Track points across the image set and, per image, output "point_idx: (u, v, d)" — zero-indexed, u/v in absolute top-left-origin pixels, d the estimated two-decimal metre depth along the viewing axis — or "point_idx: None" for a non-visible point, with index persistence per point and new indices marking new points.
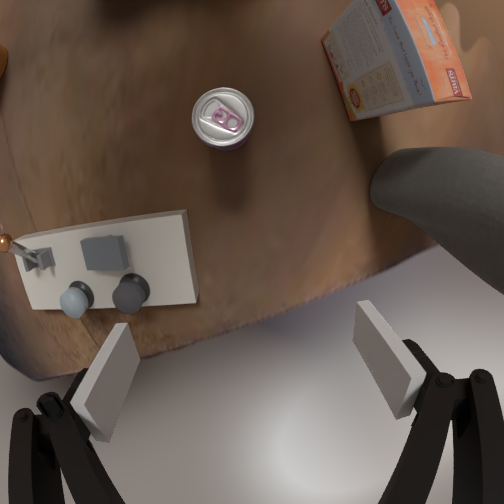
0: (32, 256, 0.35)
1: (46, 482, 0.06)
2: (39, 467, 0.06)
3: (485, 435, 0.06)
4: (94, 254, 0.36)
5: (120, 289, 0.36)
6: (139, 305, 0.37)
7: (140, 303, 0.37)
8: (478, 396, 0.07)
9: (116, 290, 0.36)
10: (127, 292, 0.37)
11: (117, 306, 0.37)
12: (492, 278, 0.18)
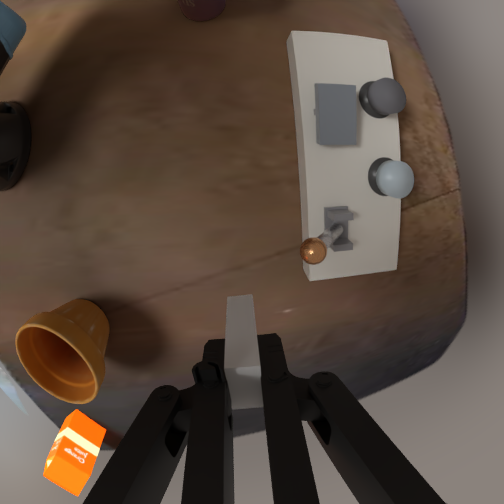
0: (334, 228, 0.32)
1: (156, 470, 0.07)
2: (158, 454, 0.08)
3: (356, 439, 0.07)
4: (337, 124, 0.29)
5: (378, 97, 0.27)
6: (395, 81, 0.26)
7: (392, 80, 0.26)
8: (328, 402, 0.09)
9: (379, 103, 0.27)
10: (381, 90, 0.26)
11: (398, 109, 0.27)
12: None
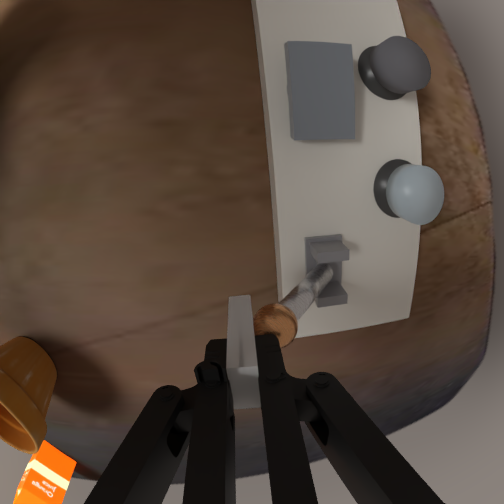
0: (318, 274, 0.20)
1: (158, 471, 0.07)
2: (159, 455, 0.08)
3: (354, 440, 0.07)
4: (322, 106, 0.17)
5: (388, 64, 0.15)
6: (412, 43, 0.14)
7: (409, 40, 0.14)
8: (325, 403, 0.09)
9: (391, 72, 0.15)
10: (392, 53, 0.15)
11: (420, 85, 0.16)
12: None
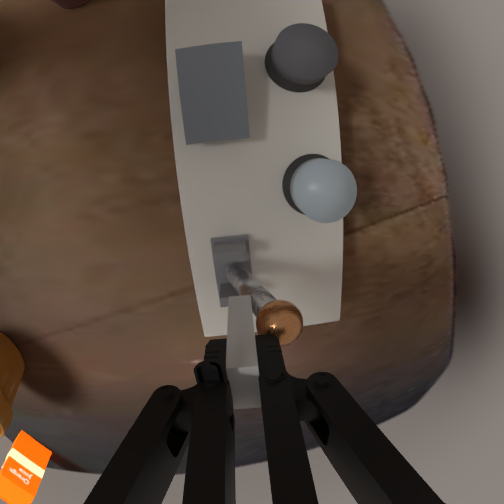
0: (246, 272, 0.21)
1: (158, 470, 0.07)
2: (159, 455, 0.08)
3: (354, 440, 0.07)
4: (212, 108, 0.18)
5: (283, 55, 0.16)
6: (317, 28, 0.15)
7: (312, 26, 0.15)
8: (325, 403, 0.09)
9: (286, 63, 0.16)
10: (289, 42, 0.15)
11: (323, 72, 0.16)
12: None
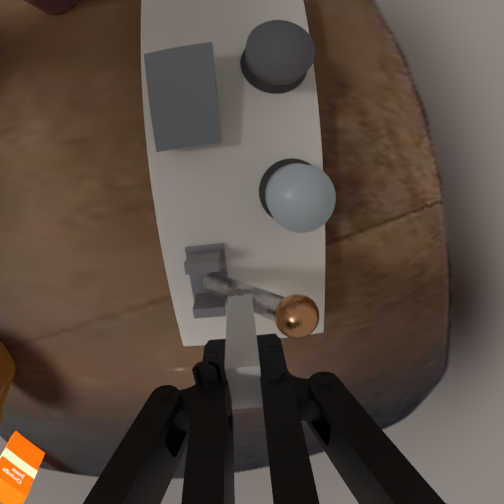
0: (231, 278, 0.21)
1: (156, 470, 0.07)
2: (158, 454, 0.08)
3: (356, 439, 0.07)
4: (181, 114, 0.17)
5: (254, 54, 0.15)
6: (292, 25, 0.14)
7: (287, 22, 0.14)
8: (327, 402, 0.09)
9: (257, 63, 0.15)
10: (262, 41, 0.15)
11: (298, 70, 0.15)
12: None
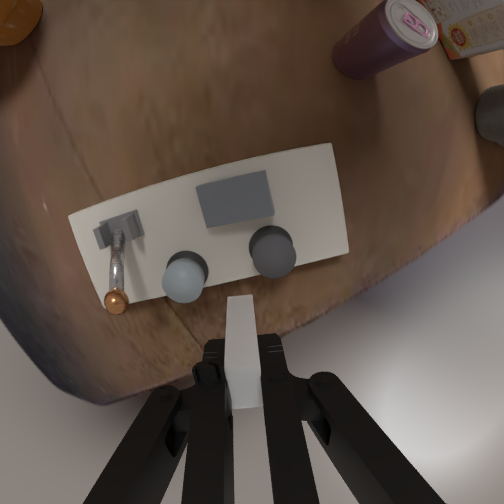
0: (124, 249, 0.29)
1: (156, 470, 0.07)
2: (158, 454, 0.08)
3: (356, 439, 0.07)
4: (222, 201, 0.28)
5: (266, 243, 0.29)
6: (293, 262, 0.30)
7: (295, 259, 0.30)
8: (327, 403, 0.09)
9: (260, 246, 0.29)
10: (277, 246, 0.29)
11: (260, 270, 0.30)
12: None
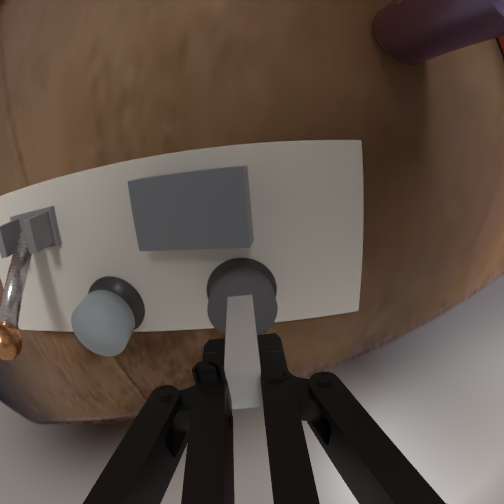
0: (28, 262, 0.16)
1: (157, 470, 0.07)
2: (158, 454, 0.08)
3: (356, 439, 0.07)
4: (165, 211, 0.16)
5: (231, 287, 0.17)
6: (271, 320, 0.18)
7: (274, 315, 0.18)
8: (328, 402, 0.09)
9: (221, 290, 0.18)
10: (248, 293, 0.18)
11: (217, 325, 0.18)
12: None
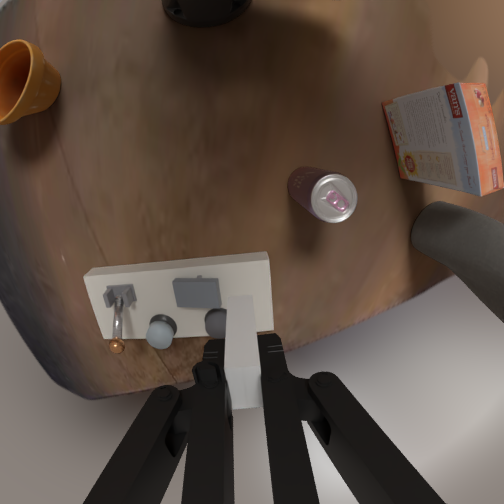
0: None
1: (157, 470, 0.07)
2: (158, 454, 0.08)
3: (356, 439, 0.07)
4: (188, 294, 0.43)
5: (214, 319, 0.45)
6: None
7: None
8: (328, 402, 0.09)
9: (210, 320, 0.45)
10: (220, 321, 0.46)
11: (209, 332, 0.46)
12: (503, 317, 0.25)
